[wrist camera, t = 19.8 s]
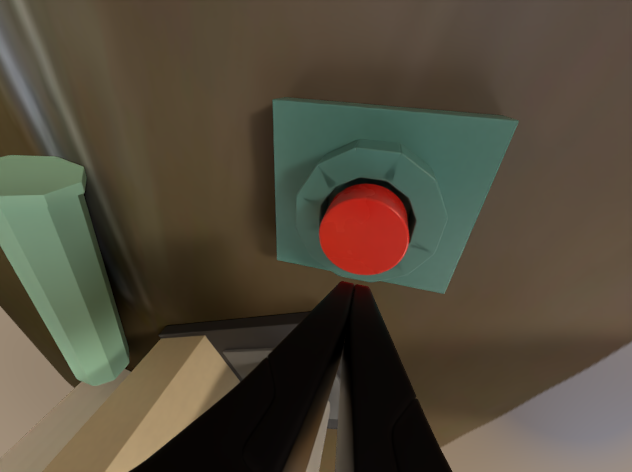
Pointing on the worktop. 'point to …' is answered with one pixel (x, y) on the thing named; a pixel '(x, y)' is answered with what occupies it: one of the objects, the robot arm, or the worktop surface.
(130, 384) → the coffee maker
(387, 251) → the button
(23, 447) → the bottle
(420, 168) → the control block
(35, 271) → the container
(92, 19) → the worktop surface
